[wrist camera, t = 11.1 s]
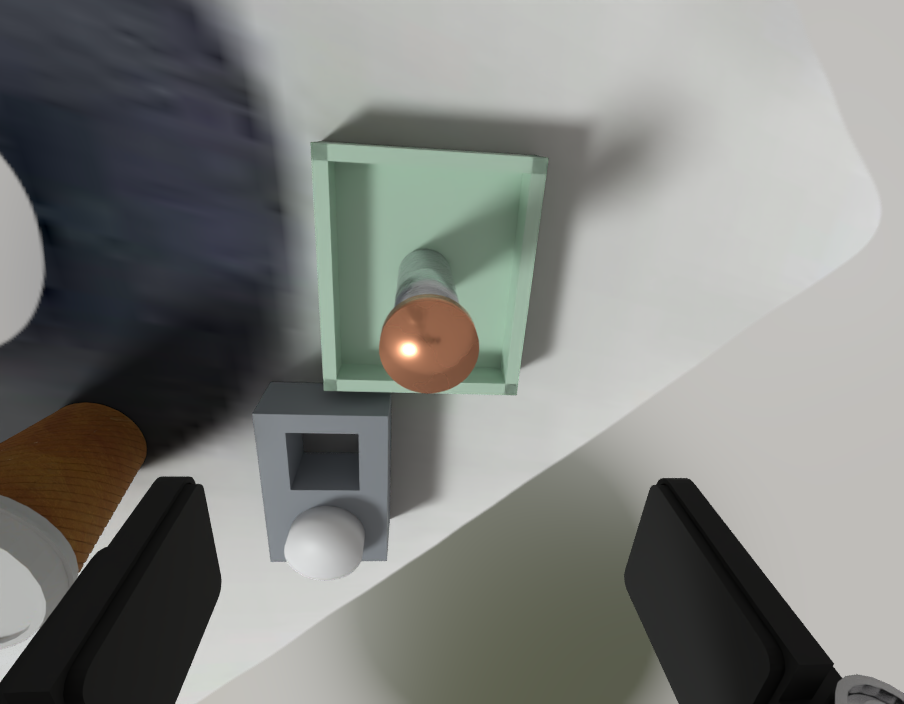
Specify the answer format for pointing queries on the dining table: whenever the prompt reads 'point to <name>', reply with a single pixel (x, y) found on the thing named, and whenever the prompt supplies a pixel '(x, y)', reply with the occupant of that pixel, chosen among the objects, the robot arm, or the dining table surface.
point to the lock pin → (427, 328)
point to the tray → (423, 227)
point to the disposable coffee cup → (58, 506)
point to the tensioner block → (324, 478)
